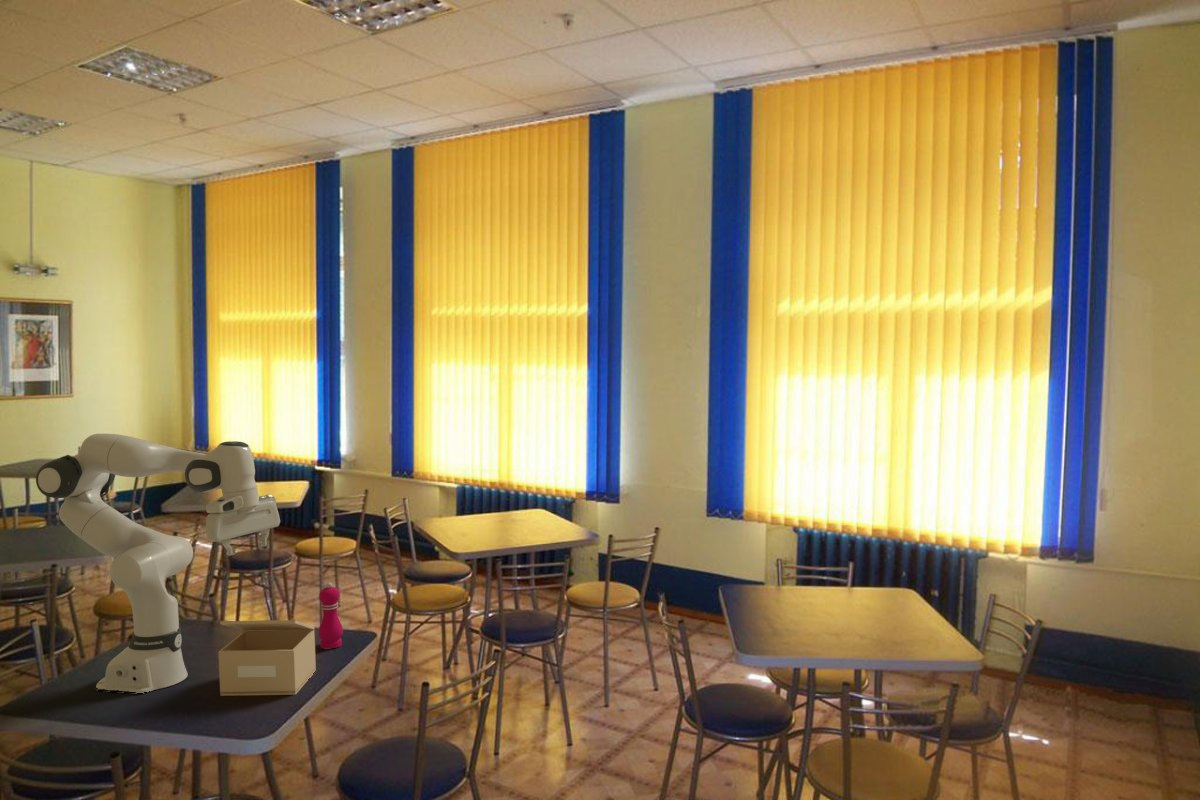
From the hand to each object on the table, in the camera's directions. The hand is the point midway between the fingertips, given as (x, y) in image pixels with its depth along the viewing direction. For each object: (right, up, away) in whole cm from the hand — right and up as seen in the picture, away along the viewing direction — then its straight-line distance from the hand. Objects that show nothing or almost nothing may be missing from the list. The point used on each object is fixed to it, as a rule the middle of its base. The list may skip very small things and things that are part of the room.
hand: (247, 550), depth 227 cm
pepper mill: (+13, -35, +31) cm, 48 cm away
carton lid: (+5, -21, +2) cm, 22 cm away
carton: (+5, -37, +3) cm, 37 cm away
